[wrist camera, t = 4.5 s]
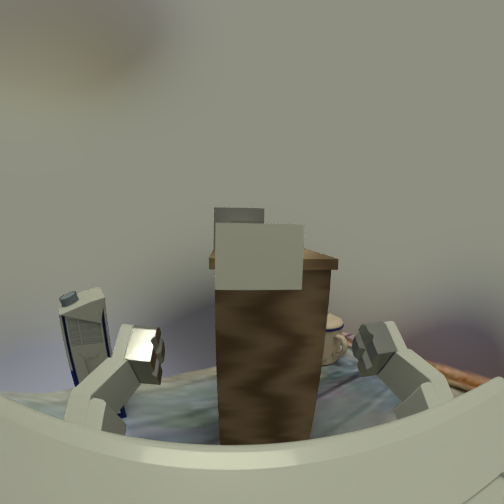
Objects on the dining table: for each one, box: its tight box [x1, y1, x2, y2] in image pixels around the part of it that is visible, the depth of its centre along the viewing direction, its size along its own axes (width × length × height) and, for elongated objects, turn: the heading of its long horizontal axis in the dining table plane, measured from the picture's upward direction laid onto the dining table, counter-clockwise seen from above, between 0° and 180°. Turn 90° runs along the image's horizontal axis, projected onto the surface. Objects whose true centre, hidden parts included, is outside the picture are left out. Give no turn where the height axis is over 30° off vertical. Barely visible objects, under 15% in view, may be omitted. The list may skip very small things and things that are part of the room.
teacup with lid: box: [322, 310, 348, 365], centre depth 56 cm, size 12×9×12 cm
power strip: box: [214, 208, 304, 290], centre depth 25 cm, size 6×26×5 cm, turn 5°
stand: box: [209, 249, 338, 445], centre depth 33 cm, size 12×15×26 cm
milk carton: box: [59, 287, 127, 418], centre depth 33 cm, size 7×7×20 cm
